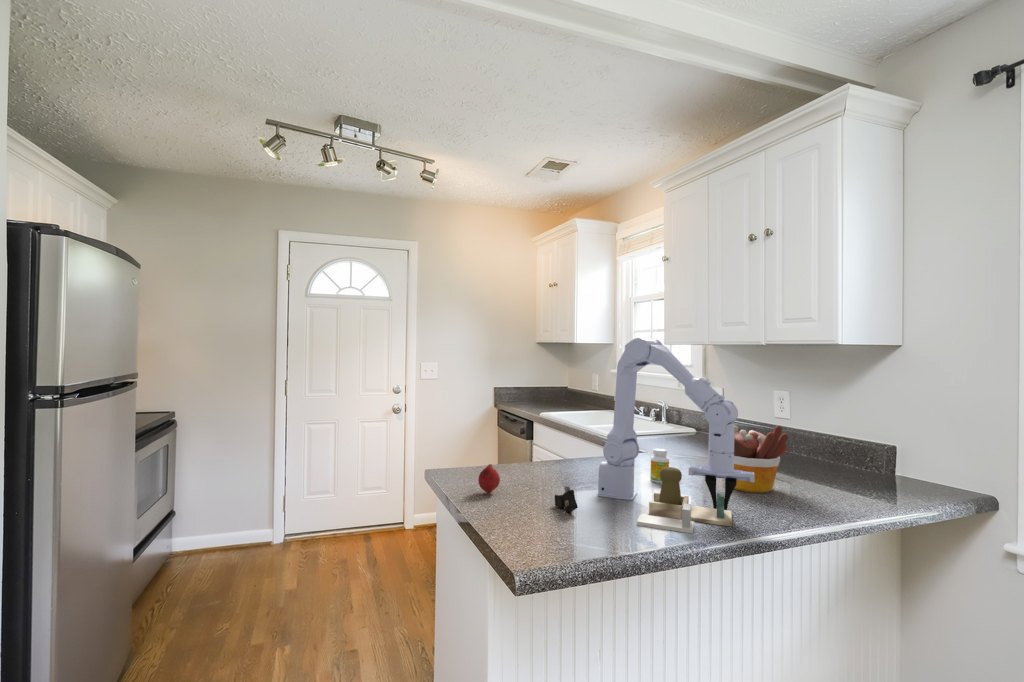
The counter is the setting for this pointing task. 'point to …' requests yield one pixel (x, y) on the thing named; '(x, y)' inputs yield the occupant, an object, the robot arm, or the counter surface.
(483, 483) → the onion
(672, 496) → the cork
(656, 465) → the supplement bottle
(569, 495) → the black angular piece
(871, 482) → the counter surface
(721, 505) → the cream slotted holder
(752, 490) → the bucket of meat
